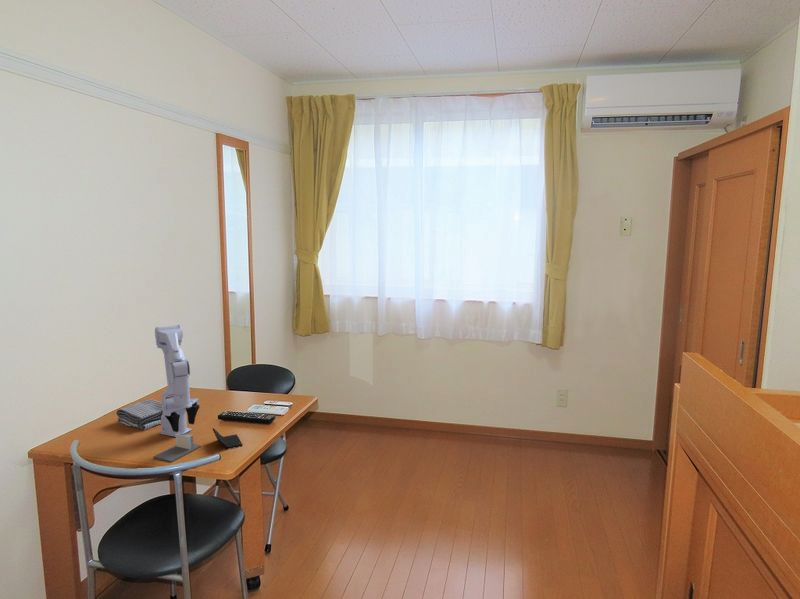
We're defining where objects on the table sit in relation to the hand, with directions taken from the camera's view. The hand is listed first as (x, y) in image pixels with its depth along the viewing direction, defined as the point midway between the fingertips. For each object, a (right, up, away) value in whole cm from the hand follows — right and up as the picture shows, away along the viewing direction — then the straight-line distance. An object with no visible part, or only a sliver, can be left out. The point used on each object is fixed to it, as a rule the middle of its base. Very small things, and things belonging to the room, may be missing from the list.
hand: (183, 427), depth 191 cm
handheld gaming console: (+15, -8, +6) cm, 18 cm away
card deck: (0, -8, +1) cm, 8 cm away
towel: (-28, -5, +28) cm, 40 cm away
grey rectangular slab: (-1, -9, -2) cm, 9 cm away
